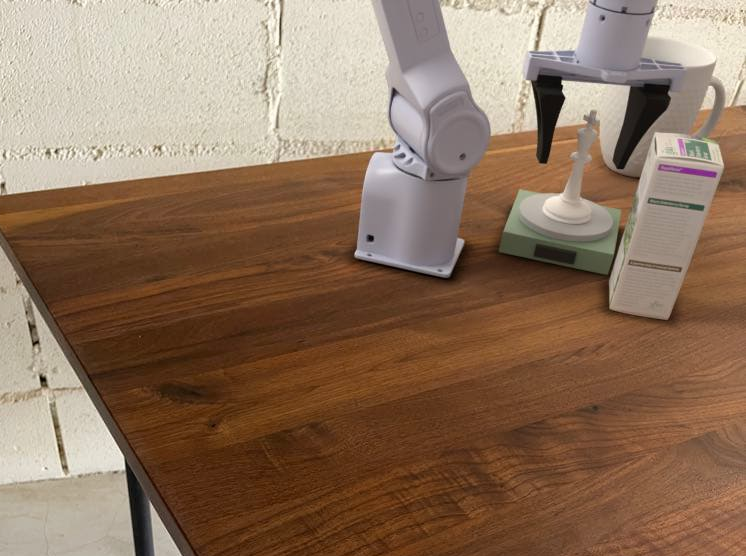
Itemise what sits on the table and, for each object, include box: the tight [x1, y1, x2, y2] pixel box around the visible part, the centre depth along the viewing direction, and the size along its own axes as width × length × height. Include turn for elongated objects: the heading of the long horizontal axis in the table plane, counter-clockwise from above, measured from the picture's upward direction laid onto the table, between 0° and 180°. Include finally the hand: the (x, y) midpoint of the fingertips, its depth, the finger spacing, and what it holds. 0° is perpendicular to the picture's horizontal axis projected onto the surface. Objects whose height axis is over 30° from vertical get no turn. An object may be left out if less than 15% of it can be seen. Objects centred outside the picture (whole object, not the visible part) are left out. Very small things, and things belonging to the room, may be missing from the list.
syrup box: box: [608, 132, 725, 321], centre depth 79 cm, size 6×6×14 cm
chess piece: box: [542, 109, 600, 224], centre depth 87 cm, size 5×5×10 cm
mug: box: [598, 35, 726, 179], centre depth 104 cm, size 15×11×13 cm
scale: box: [498, 188, 623, 276], centre depth 91 cm, size 11×11×3 cm
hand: (579, 162), depth 86 cm, fingers open, 7 cm apart
